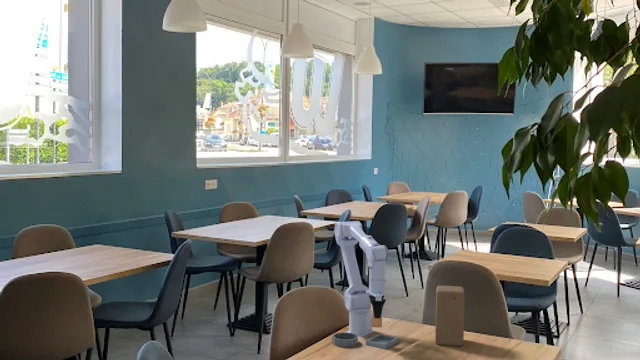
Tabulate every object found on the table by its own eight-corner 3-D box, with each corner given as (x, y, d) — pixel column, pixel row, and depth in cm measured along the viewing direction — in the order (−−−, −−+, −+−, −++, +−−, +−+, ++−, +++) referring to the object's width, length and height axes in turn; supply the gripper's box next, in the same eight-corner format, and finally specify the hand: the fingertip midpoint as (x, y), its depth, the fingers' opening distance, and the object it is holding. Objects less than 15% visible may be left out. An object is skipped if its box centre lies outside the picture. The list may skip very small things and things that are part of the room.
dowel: (374, 324, 224) (374, 302, 224) (384, 325, 222) (384, 303, 222) (368, 326, 221) (368, 304, 221) (378, 328, 219) (378, 305, 218)
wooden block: (463, 347, 221) (464, 292, 220) (435, 345, 223) (436, 290, 222) (462, 338, 230) (463, 286, 229) (435, 336, 232) (436, 284, 231)
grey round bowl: (341, 338, 229) (341, 330, 229) (362, 343, 223) (362, 335, 223) (327, 345, 221) (327, 336, 221) (348, 350, 216) (348, 341, 216)
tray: (379, 339, 229) (379, 333, 229) (398, 343, 224) (398, 337, 224) (365, 345, 221) (365, 340, 221) (385, 350, 216) (385, 344, 216)
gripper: (364, 275, 228) (364, 311, 229) (367, 282, 214) (367, 321, 214) (383, 275, 228) (383, 311, 229) (387, 283, 214) (387, 321, 214)
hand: (376, 316), depth 221 cm, fingers closed on dowel, 4 cm apart
